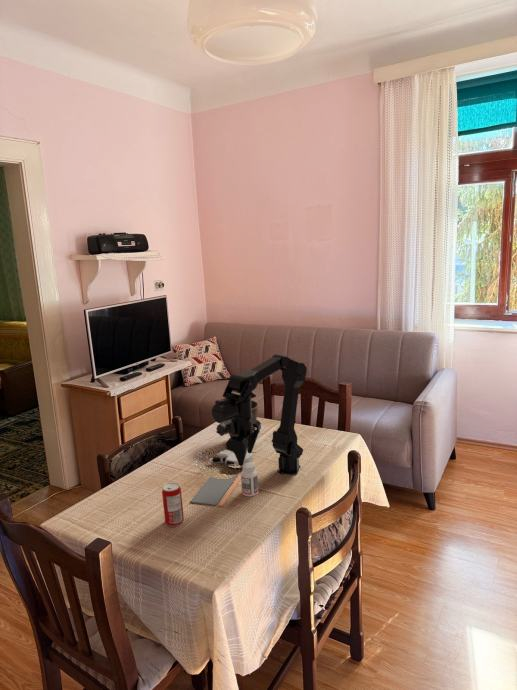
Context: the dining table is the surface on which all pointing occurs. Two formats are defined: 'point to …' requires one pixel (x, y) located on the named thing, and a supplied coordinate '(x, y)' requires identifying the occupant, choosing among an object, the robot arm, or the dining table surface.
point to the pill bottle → (249, 480)
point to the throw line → (230, 491)
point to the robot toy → (230, 458)
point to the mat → (212, 491)
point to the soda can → (172, 504)
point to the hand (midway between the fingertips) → (245, 459)
